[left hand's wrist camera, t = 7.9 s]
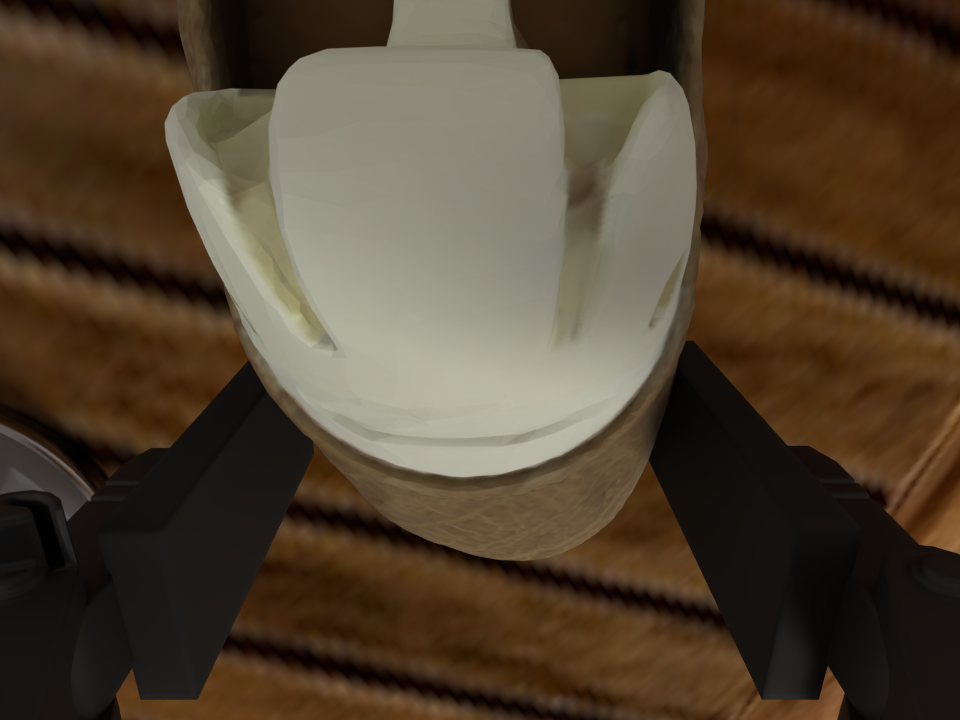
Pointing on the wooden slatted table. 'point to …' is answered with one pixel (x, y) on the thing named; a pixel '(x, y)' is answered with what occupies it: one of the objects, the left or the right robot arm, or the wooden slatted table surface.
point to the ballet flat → (456, 241)
